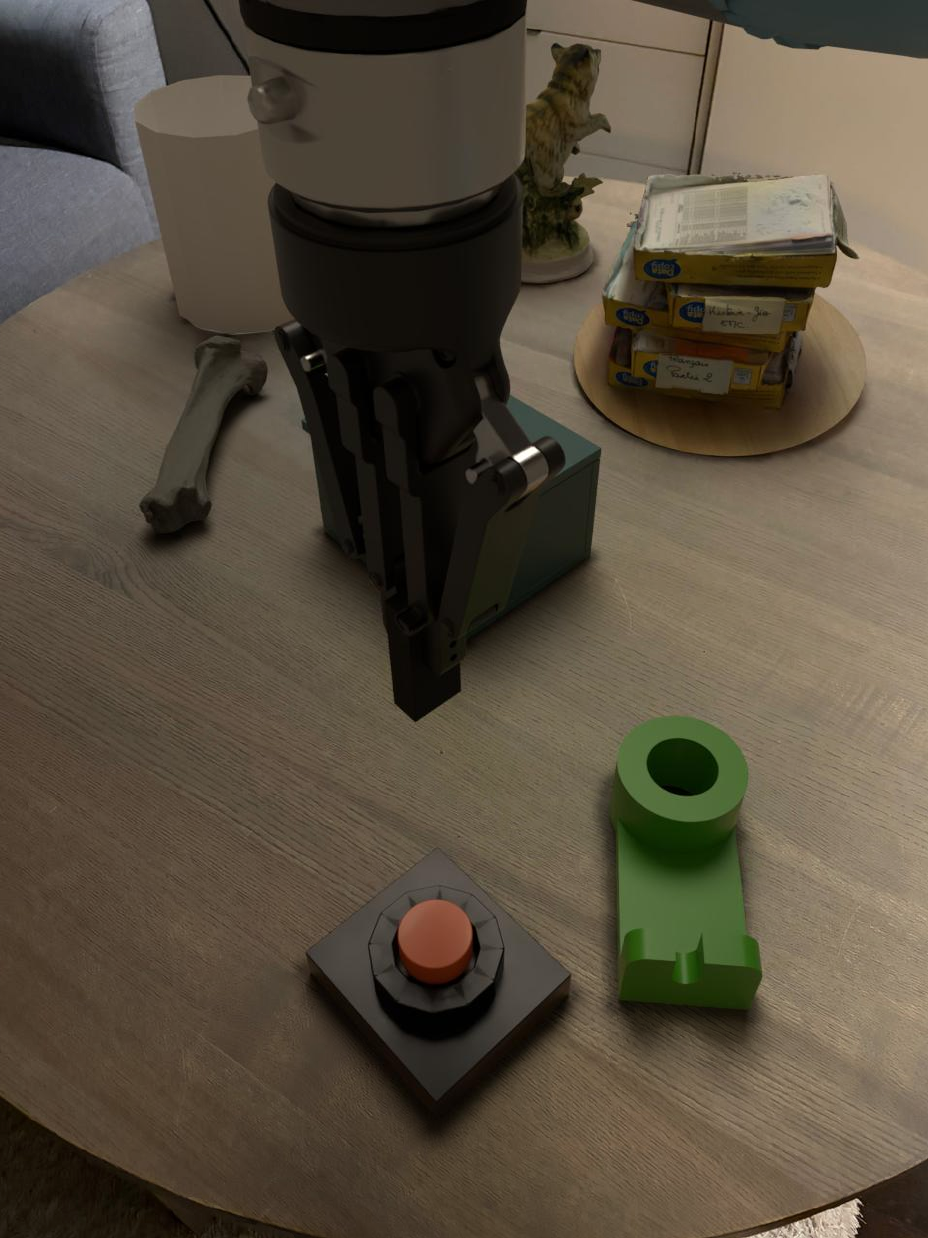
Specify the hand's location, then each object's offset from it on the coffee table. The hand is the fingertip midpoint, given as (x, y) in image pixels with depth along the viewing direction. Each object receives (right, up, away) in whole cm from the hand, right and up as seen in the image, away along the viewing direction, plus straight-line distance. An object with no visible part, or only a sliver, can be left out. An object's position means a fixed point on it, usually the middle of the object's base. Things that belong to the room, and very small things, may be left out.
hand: (427, 697), depth 47 cm
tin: (+1, +9, +30) cm, 32 cm away
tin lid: (+1, +16, +24) cm, 29 cm away
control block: (0, -15, +7) cm, 17 cm away
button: (0, -13, +4) cm, 13 cm away
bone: (-19, +17, +38) cm, 46 cm away
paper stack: (+24, +25, +46) cm, 58 cm away
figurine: (+9, +41, +61) cm, 74 cm away
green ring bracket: (+13, -11, +11) cm, 20 cm away
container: (-19, +35, +56) cm, 69 cm away
